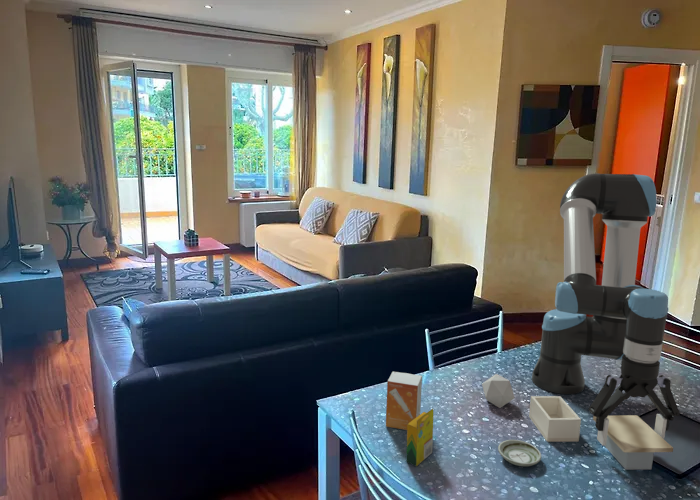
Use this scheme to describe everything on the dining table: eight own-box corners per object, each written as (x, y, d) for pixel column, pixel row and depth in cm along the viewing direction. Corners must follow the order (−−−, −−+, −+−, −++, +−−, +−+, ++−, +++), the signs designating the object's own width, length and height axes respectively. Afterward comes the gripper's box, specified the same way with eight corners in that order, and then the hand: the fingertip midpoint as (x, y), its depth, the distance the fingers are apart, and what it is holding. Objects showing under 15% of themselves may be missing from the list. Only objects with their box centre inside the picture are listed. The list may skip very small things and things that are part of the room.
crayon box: (422, 448, 125) (424, 403, 123) (432, 452, 124) (435, 408, 121) (405, 462, 120) (407, 416, 117) (416, 467, 118) (418, 420, 116)
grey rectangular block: (625, 469, 118) (628, 445, 117) (605, 446, 127) (608, 424, 126) (651, 469, 118) (654, 445, 117) (629, 446, 127) (632, 424, 126)
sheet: (624, 452, 114) (624, 448, 114) (592, 419, 128) (593, 415, 128) (672, 452, 115) (673, 447, 114) (636, 419, 128) (636, 415, 128)
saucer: (516, 477, 115) (517, 467, 115) (488, 453, 124) (489, 444, 123) (549, 466, 119) (550, 457, 118) (520, 444, 128) (521, 435, 127)
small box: (385, 427, 134) (386, 380, 132) (390, 415, 140) (392, 370, 138) (416, 432, 132) (418, 385, 129) (420, 420, 138) (422, 375, 135)
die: (519, 409, 146) (515, 374, 150) (508, 404, 140) (504, 369, 144) (492, 411, 150) (488, 377, 154) (479, 407, 144) (476, 372, 148)
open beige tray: (547, 441, 129) (549, 419, 128) (529, 416, 140) (530, 396, 139) (578, 441, 129) (581, 419, 128) (558, 416, 141) (560, 396, 140)
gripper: (595, 364, 113) (585, 451, 117) (706, 364, 114) (692, 451, 118) (579, 350, 121) (570, 433, 125) (683, 351, 122) (671, 433, 126)
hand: (629, 442), depth 122 cm, fingers open, 13 cm apart
